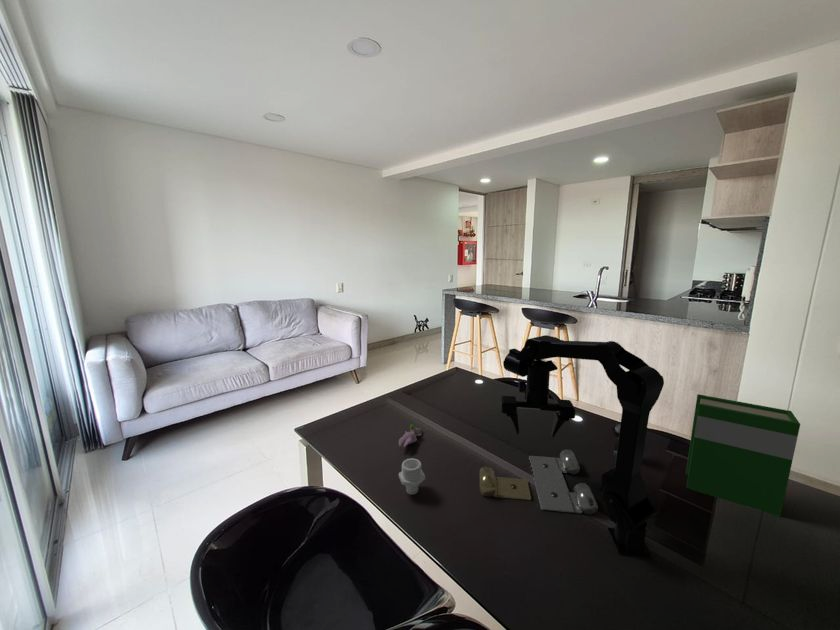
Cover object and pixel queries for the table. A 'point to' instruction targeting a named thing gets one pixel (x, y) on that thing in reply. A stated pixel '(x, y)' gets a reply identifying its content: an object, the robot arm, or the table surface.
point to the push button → (616, 433)
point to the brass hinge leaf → (503, 486)
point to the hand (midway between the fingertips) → (534, 435)
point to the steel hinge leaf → (561, 485)
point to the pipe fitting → (411, 475)
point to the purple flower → (410, 436)
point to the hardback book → (741, 452)
